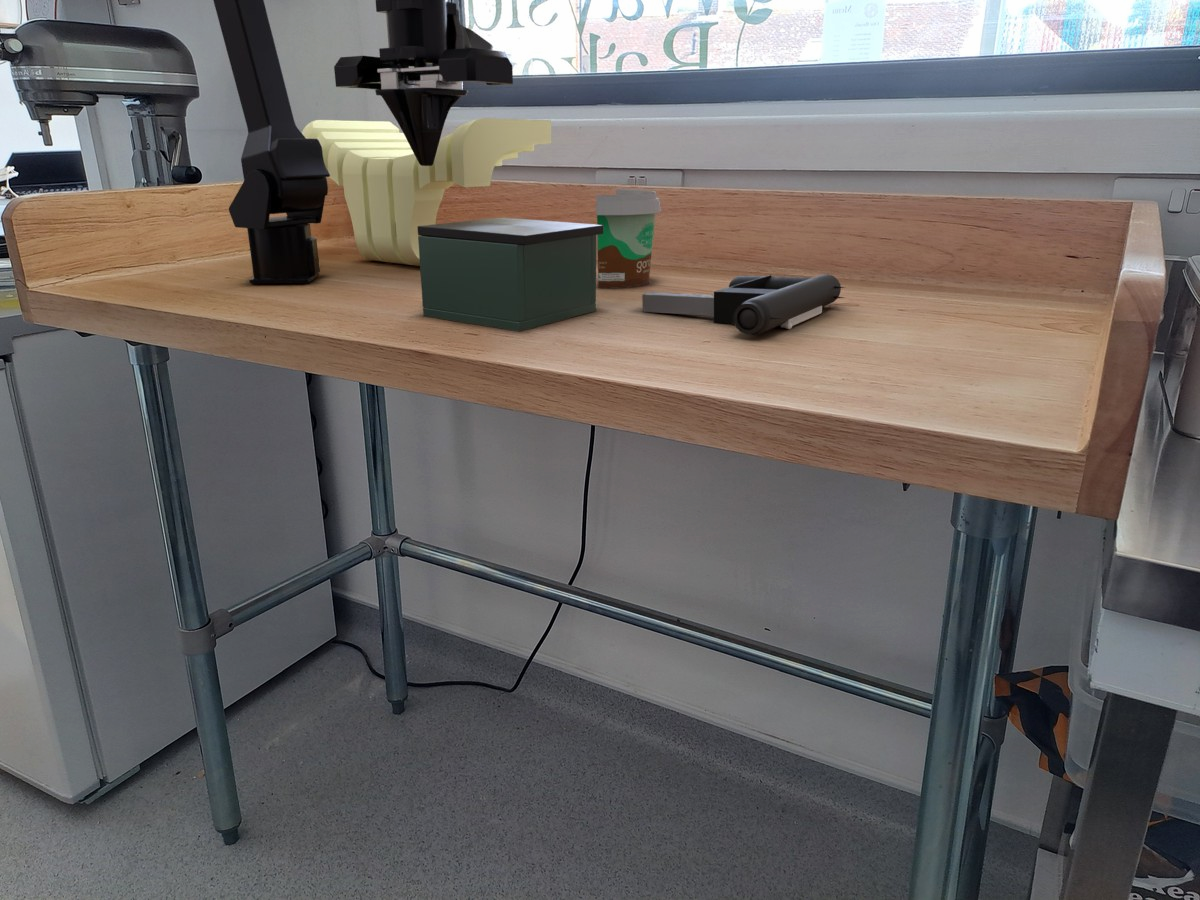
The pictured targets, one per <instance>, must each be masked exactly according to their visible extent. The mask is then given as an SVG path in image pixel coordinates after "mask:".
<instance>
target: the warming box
mask: <svg viewBox="0 0 1200 900" xmlns="http://www.w3.org/2000/svg"><path fill="white" fill-rule="evenodd" d="M418 242H419V257H420V266H419V271H420V285H421V287H420V288H421V299H422V300H421V302H422V316H423V317H426V318H433V319H439V320H445V321H450V322H451V321H453V322H458V323H464V324H469V325H477V326H482V327H489V328H497V329H501V330H502V329H503V330H508V331H514V332H522V331H526V330H531V329H534V328H538V327H542V326H546V325H550V324H553V323H556V322H560V321H564V320H567V319H571V318H575V317H579V316H582V315H586V314H590V313H594V312H597V235H592V236H585V237H578V238H571V239H564V240H558V241H551V242H544V243H537V244H530V245H516V244H506V243H495V242H485V241H474V240H464V239H453V238H443V237H432V236H418Z"/></svg>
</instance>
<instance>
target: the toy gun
mask: <svg viewBox="0 0 1200 900" xmlns="http://www.w3.org/2000/svg"><path fill="white" fill-rule="evenodd" d="M842 289H846V287H844V286H841V283H840V281H839V279H838V278H837V277H835V276H834V275H832V274H830V273H829V274H826V273H824V274H819V275H817V276H813V277H803V276H801V277H800V276H799V277H797V276H772V274H768V275H765V276H764V275H738V276H736V277H734V278H733V279H732V280H731V281H730V282H729V285H728V287H725V288H722V289H718V290H715V291H713V294H701V293H700V294H698V293H681V292H680V293H679V292H678V293H677V292H655V291H653V292H652V291H650V292H646V293H643V294H641V297H642V298H641V299H642V302H641V303H642V305H641V306H642V313H658V314H659V313H660V314H674V315H675V314H676V315H677V314H678V315H692V316H709V317H713V324H729V325H734V326H735V327H736V329H737V330H738V331H739V332H740V333H742V334H744V335H760V334H763V333H765V332H768V331H770V330H773V329H775V328H777V327H779V326H780V328H785V329H786V330H791V329H792V328H793V327H794V326H795V325H798V324H800V323H802V322H804V321H807V320H809V319H812V318H814V317H816V316H818V315H820V314H822V313H823V308H824V307H826V306H829V305H831V304H833V303H835V302H836V301H837V300H838V299H845V297H844V296H840V295H841V291H842Z"/></svg>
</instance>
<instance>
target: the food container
mask: <svg viewBox="0 0 1200 900" xmlns="http://www.w3.org/2000/svg"><path fill="white" fill-rule="evenodd" d="M657 194H658V193H657V191H654V190H646V189H624V188H623V189H621V188H616V189H615V194H596V202H595V216H596V225H603V226H604V229H603V234H599V235H596V243H597V288H598V289H600V288H601V289H619V288H621V289H622V288H623V289H624V288H635V287H641V286H645V285H647V284H649V283H650V274H651V263H652V253H653V245H654V244H653V242H654V232H655V223H656V222H655V221H656V220H655V219H656V214H657V213H658V214H659V213H661V212H662V208H661V202H660V198H659V197H658V195H657Z"/></svg>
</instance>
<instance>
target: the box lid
mask: <svg viewBox="0 0 1200 900" xmlns="http://www.w3.org/2000/svg"><path fill="white" fill-rule="evenodd" d="M603 229H604V226H603V225H597V224H593V223H583V222H580V223H579V222H569V221H568V222H567V221H555V220H554V221H552V220H539V219H527V218H513V217H494V218H483V219H473V220H464V221H457V222H456V221H454V222H446V223H445V222H444V223H436V224H434V225H424V226H418V235H422V236H432V237H443V238H453V239H464V240H474V241H485V242H495V243H506V244H516V245H530V244H537V243H544V242H551V241H558V240H564V239H571V238H578V237H585V236H592V235H596V236H597V235H599V234H603Z"/></svg>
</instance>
